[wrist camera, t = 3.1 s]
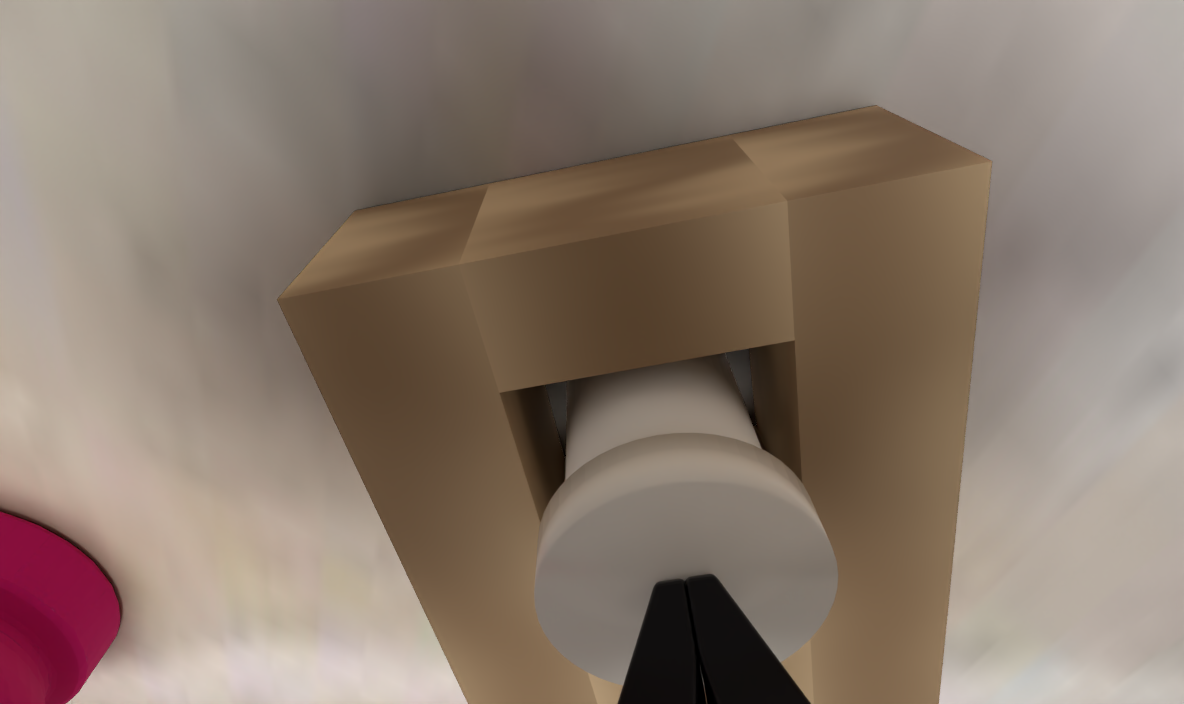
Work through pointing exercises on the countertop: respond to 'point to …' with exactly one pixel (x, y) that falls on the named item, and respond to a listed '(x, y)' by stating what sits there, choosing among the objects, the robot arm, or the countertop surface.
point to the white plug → (673, 515)
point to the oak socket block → (662, 335)
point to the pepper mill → (49, 615)
